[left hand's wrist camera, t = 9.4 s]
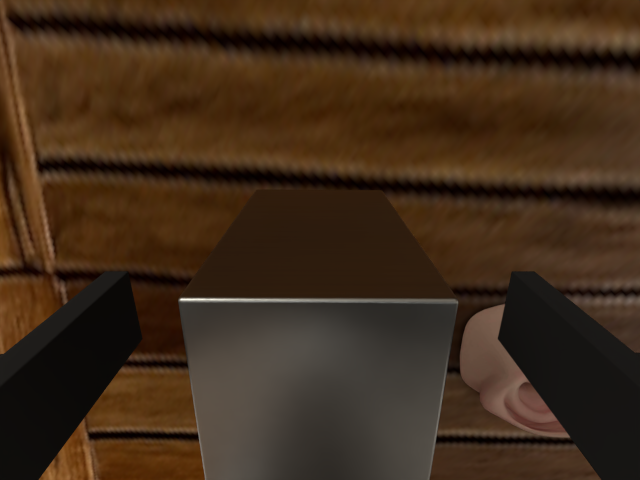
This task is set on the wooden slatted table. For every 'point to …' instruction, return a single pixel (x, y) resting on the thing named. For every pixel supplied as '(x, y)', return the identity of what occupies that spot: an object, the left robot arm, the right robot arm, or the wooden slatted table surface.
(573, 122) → the wooden slatted table surface
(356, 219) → the bar
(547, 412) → the anatomical model
